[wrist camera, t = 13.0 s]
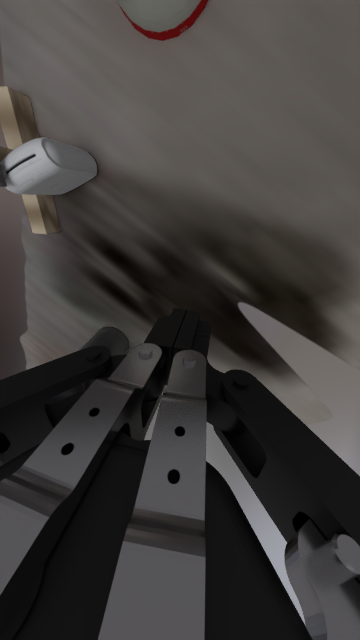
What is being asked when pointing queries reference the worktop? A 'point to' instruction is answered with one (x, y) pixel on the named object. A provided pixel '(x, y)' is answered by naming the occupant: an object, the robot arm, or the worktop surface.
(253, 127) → the worktop surface
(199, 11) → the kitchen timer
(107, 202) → the worktop surface
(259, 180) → the worktop surface
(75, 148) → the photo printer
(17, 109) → the retention stand
